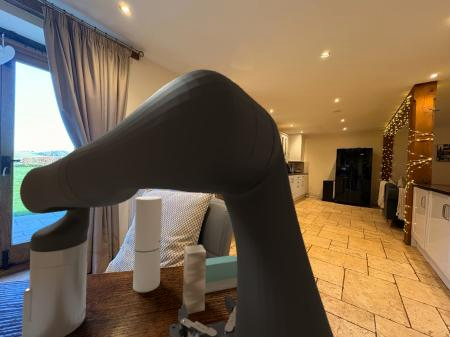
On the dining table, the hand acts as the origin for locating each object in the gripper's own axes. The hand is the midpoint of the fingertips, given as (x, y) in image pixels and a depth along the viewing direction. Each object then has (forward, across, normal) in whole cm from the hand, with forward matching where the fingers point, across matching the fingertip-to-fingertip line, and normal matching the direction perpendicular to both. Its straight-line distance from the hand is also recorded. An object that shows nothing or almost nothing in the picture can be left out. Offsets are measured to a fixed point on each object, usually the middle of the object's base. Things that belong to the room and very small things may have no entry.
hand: (205, 304), depth 38 cm
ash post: (+11, 0, +8) cm, 13 cm away
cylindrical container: (+24, +11, +8) cm, 28 cm away
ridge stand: (+20, -8, +8) cm, 23 cm away
